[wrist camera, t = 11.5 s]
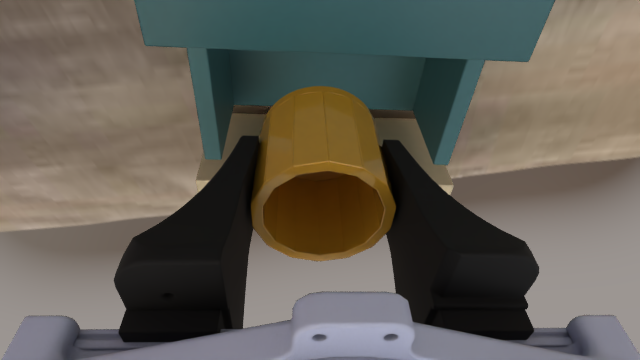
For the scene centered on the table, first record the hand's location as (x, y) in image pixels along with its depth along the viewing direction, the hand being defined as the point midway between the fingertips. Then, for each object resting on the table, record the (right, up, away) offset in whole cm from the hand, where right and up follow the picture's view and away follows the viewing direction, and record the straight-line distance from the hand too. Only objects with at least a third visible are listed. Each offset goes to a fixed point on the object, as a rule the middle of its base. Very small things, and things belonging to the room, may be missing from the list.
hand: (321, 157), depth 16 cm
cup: (0, +1, +1) cm, 1 cm away
